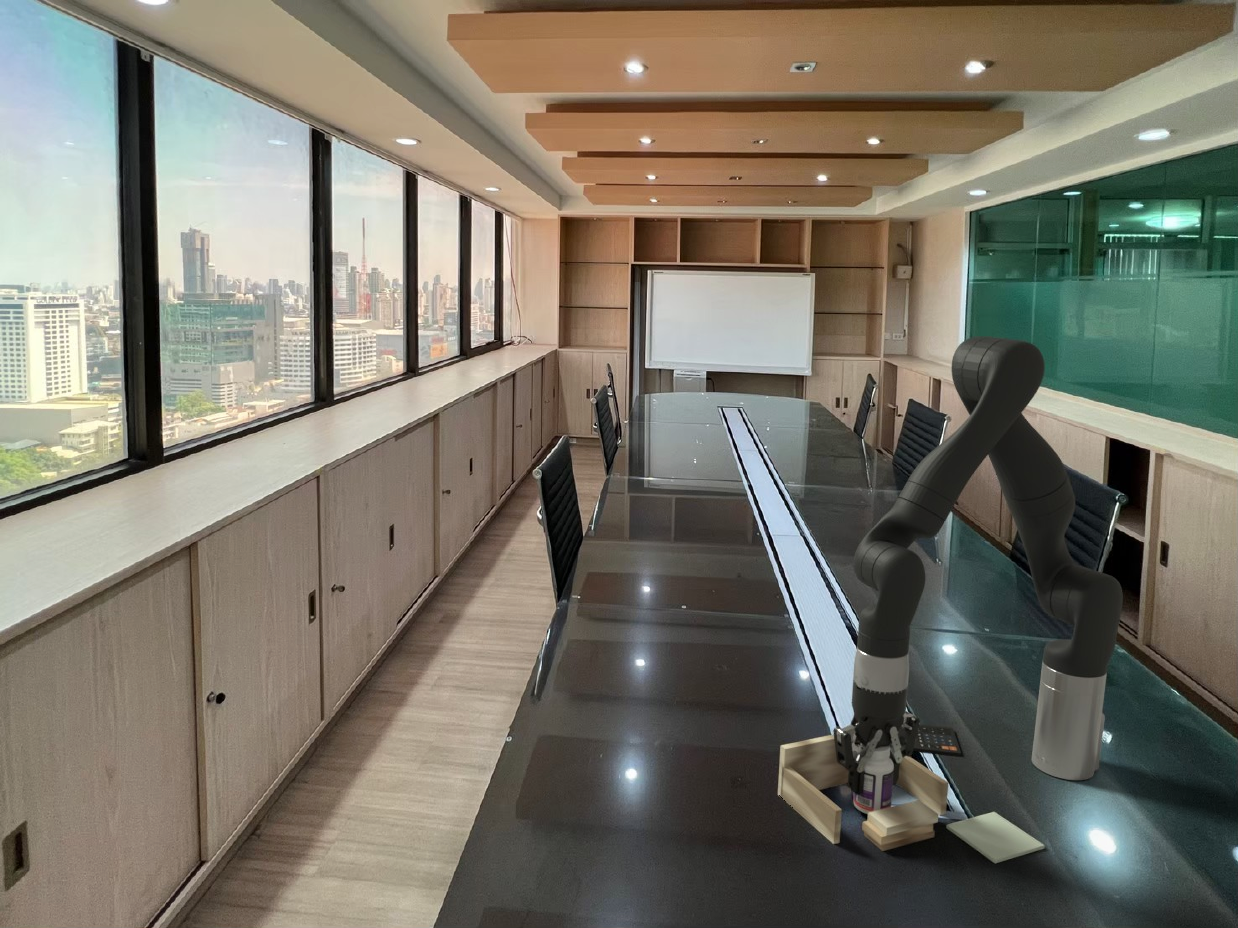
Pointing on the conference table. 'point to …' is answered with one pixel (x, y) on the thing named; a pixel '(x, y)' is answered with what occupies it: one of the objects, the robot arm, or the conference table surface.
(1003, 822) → the sage mat
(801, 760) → the enclosure
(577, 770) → the conference table surface
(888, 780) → the pill bottle
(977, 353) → the robot arm
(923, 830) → the offcut stack
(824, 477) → the conference table surface
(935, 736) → the calculator
